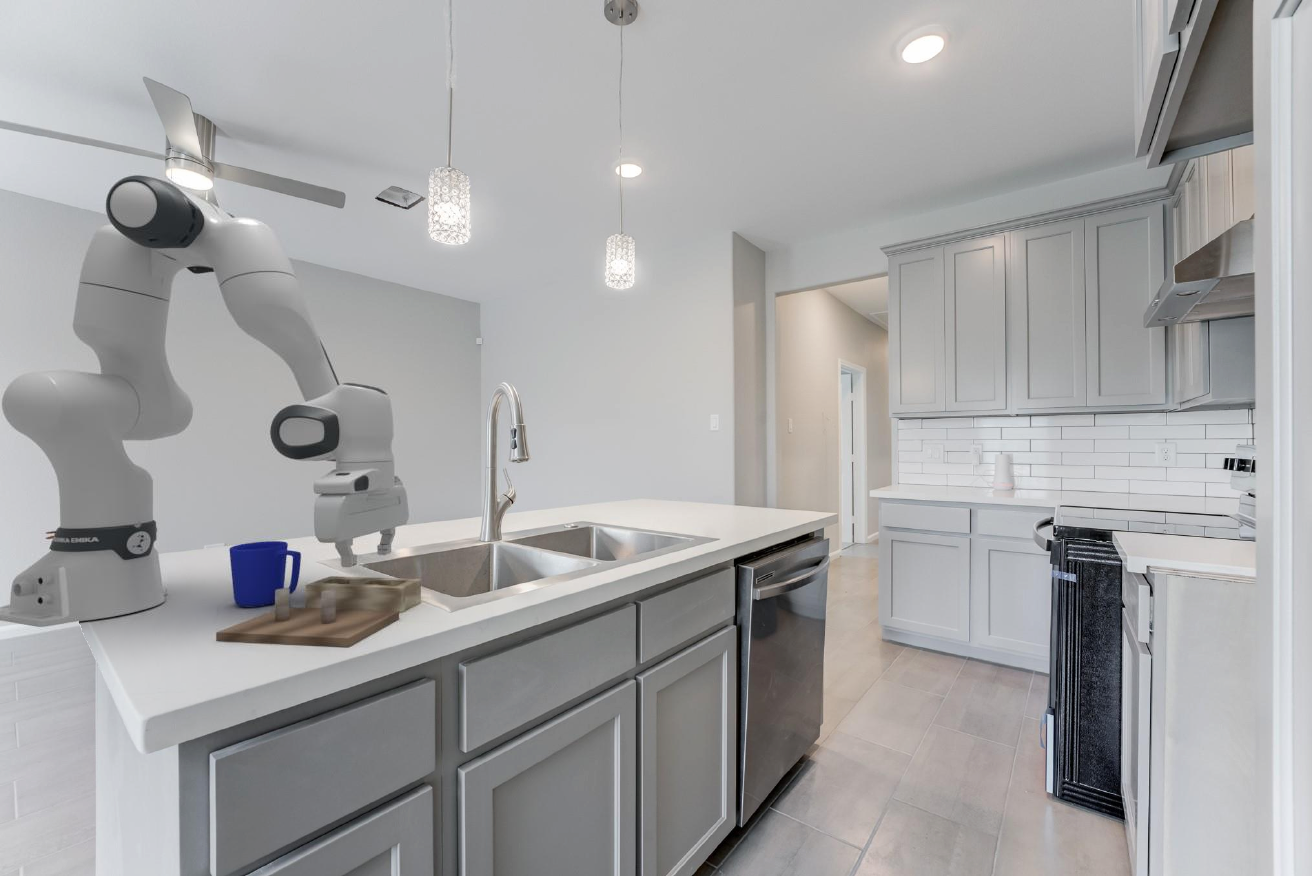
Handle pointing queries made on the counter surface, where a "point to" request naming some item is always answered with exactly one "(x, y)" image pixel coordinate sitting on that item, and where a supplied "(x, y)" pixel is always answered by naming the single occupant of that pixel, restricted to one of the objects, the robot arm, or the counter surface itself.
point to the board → (309, 624)
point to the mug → (261, 571)
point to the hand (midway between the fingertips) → (367, 560)
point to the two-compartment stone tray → (366, 593)
